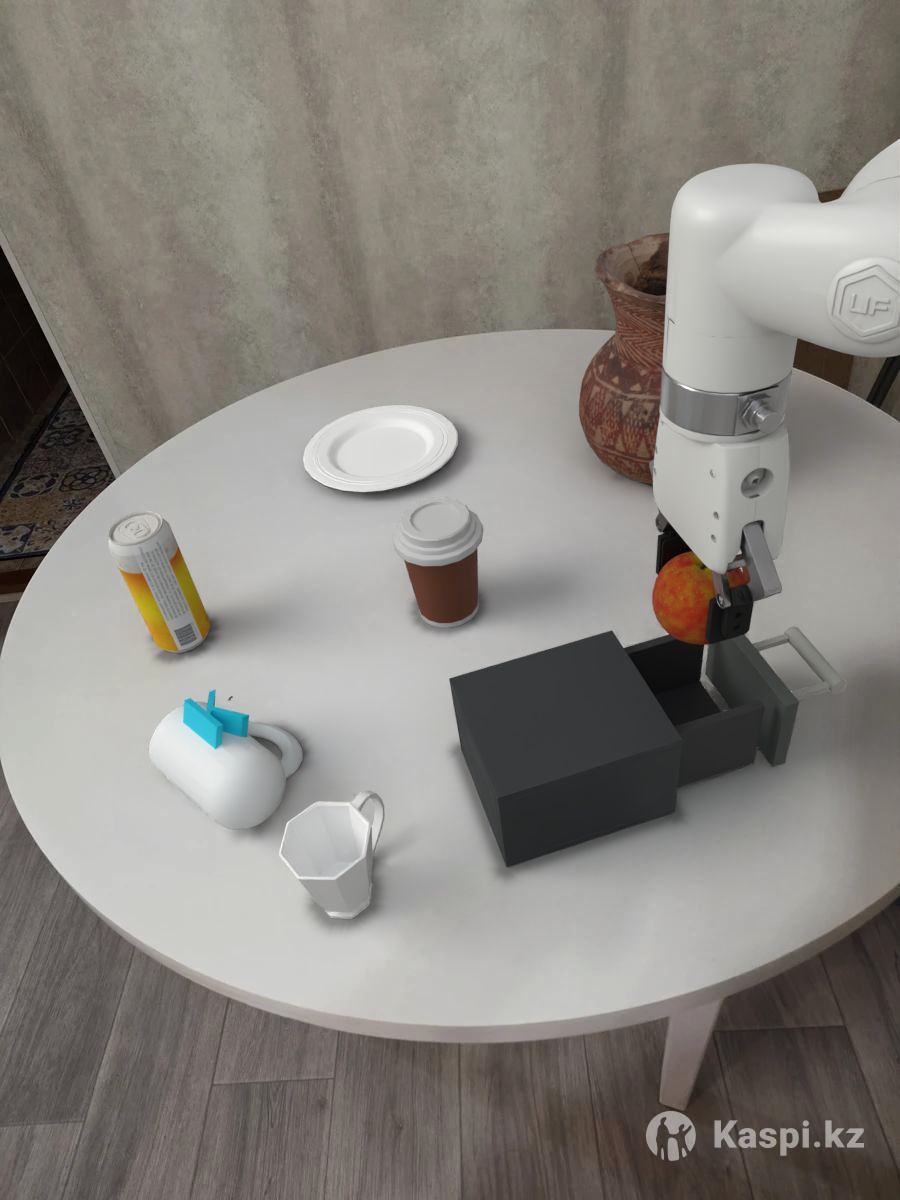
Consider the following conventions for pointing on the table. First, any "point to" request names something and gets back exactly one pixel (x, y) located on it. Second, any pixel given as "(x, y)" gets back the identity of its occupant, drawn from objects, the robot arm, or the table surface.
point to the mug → (224, 761)
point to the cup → (335, 853)
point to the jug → (628, 359)
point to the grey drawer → (728, 699)
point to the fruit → (686, 597)
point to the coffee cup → (441, 558)
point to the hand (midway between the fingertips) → (700, 601)
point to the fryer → (565, 746)
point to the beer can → (159, 580)
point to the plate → (380, 449)
